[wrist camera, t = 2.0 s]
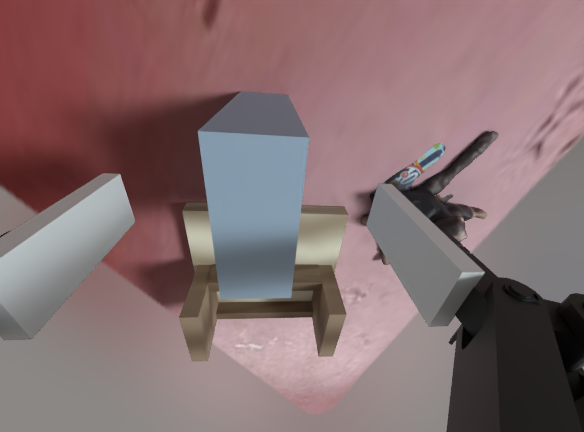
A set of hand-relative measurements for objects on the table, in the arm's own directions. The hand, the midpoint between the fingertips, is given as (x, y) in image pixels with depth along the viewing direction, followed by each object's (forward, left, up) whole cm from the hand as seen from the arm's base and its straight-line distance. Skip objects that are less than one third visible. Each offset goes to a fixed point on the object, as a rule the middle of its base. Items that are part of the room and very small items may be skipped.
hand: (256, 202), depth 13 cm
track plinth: (+12, +1, -9) cm, 15 cm away
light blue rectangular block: (0, 0, -9) cm, 9 cm away
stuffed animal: (+4, +16, -9) cm, 19 cm away
